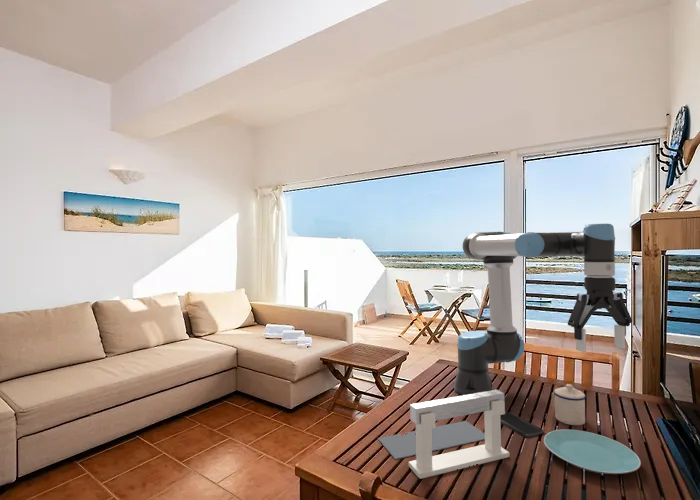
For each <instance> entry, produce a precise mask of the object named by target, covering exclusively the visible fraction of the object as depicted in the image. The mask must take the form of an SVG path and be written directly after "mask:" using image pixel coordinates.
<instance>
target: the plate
mask: <svg viewBox="0 0 700 500" xmlns="http://www.w3.org/2000/svg"><path fill="white" fill-rule="evenodd" d="M543 443H544V446H545V447H546V448H547V449H548V450H549V451H550V452H551V453H552V454H553V455H555V456H556V457H558V458H559V459H562V460H563V461H565V462H567V463H568V464H570V465H572V466H574V467H576V468H579V469H581V470H584V471H587V472H592V473H594V474H595V473H596V474H603V475H611V474H612V475H623V474H629V473H633V472H636V471H637V470H639V468H640V467H641V464H642V463H641V458H639V456H638V454H637V453H635V452H634V450H632V449H631V448H630V447H628V446H626V444H623V443H622V442H619V441H617V440H615V439H612V438H609V437H607V436H604V435H602V434H601V435H600V434H597V433H594V432H589V431H585V430H579V429H567V428H566V429H555V430H551V431H550V432H547V433H546V434H545V436H544V438H543Z"/></svg>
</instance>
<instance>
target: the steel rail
mask: <svg viewBox="0 0 700 500" xmlns="http://www.w3.org/2000/svg"><path fill="white" fill-rule="evenodd" d="M498 400H503V401H505V393H504V392H502V391H500V390H498V389H493V390H491V391H486V392H480V393H474V394H468V395H462V394H461V395H457V396H451V397H446V398H441V399H433V400H428V401H422V402H416V403H412V404H411V403H410V404H409V407H410V408H409V414H410V416H409V417H410V419H409V420H410V421H411V422H412V423H414V424H415V425H416V424H421V415H422V414H427V413H435V422H437V421H442V420H447V419H451V418H452V419H453V418H457V417H463V416H468V415H472V414H479V413H482V412H483V413H484V411H489V410H492V409H491V402H493V401H498Z"/></svg>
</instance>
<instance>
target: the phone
mask: <svg viewBox="0 0 700 500" xmlns="http://www.w3.org/2000/svg"><path fill="white" fill-rule="evenodd" d="M500 422H501V423H502V424H501V425H503V426H505V427H506V426H507V428H508V427H509V428H508V429H510V428H511V429H510V430H511V431H513V432H515V433H517V434H519V435H520V436H522V437H524V438H532V437H536V435H537V436H540V435H544V433H545V432H544V431H545V430H544V429H542V428H541V427H540V426H537V425H535V424H533V423H531V422H530V421H528V420H525V419H524V418H523V417H520V416H518V415H516V414H514V413H512V412H510V411H508V412H506V411H505V414H503V415H500Z"/></svg>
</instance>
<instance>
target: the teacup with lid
mask: <svg viewBox="0 0 700 500" xmlns="http://www.w3.org/2000/svg"><path fill="white" fill-rule="evenodd" d="M586 398H587V397H586V394H585V393H584V392H583V391H581V390H579V389H577V388H575V387H574V386H573V384H571V383H570V384H568V383H567V384H565V386H562V387H558V388H555V389H554V391H553V392H551V400H552V403H553V404H554V412H555V413H554V415H555V419H556V420H557V421H559V422H560V423H563V424H565V425H568V426H569V425H570V426H582V425H585V423H586V400H585V399H586Z"/></svg>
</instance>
